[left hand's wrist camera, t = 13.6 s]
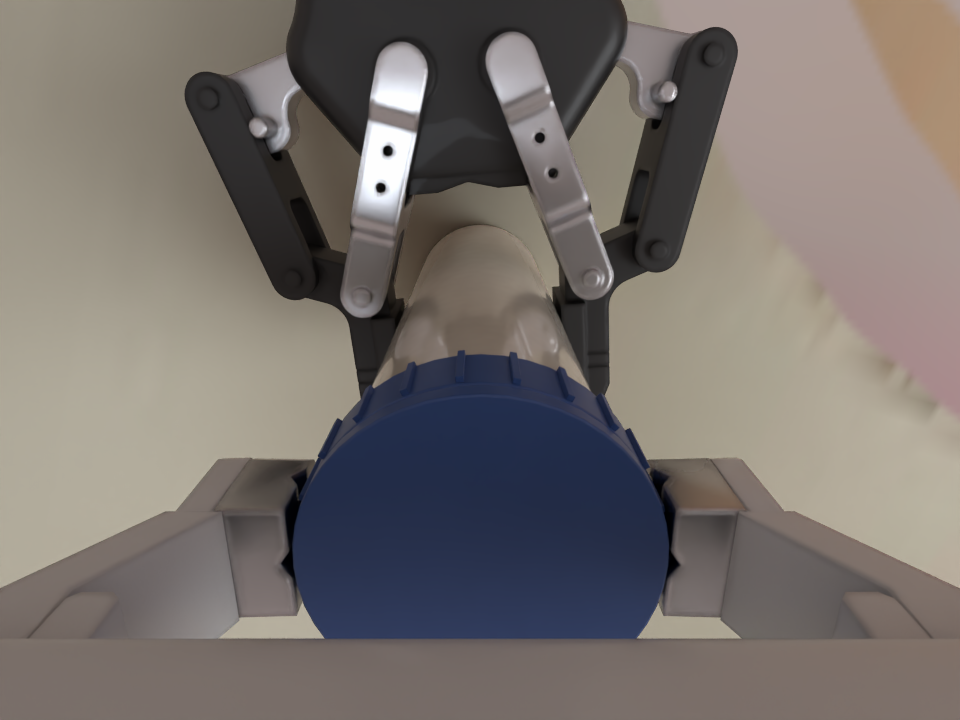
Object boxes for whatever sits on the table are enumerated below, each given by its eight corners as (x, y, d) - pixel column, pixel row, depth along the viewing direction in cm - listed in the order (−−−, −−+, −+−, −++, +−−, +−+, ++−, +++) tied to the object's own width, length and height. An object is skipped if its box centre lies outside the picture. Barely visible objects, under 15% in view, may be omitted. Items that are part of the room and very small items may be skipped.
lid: (581, 293, 9) (602, 325, 7) (685, 577, 10) (719, 650, 9) (254, 421, 9) (212, 474, 8) (401, 669, 11) (389, 750, 10)
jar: (513, 205, 23) (580, 347, 8) (555, 315, 25) (682, 617, 9) (401, 252, 24) (257, 470, 8) (449, 356, 26) (401, 705, 10)
